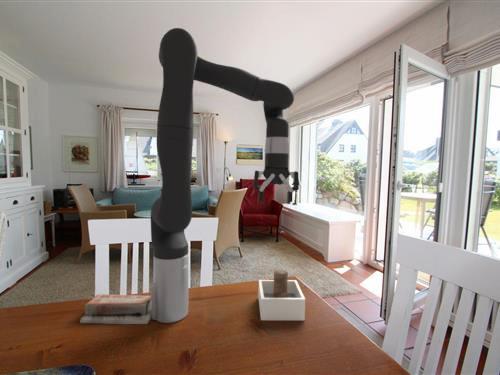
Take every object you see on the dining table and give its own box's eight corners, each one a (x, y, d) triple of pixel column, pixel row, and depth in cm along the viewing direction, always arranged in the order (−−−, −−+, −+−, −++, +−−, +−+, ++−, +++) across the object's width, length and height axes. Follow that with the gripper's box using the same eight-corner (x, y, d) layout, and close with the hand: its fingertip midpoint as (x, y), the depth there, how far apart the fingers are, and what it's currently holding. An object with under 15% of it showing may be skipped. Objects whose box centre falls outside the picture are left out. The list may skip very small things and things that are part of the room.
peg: (273, 312, 75) (274, 275, 74) (272, 304, 79) (273, 269, 78) (287, 312, 75) (288, 275, 74) (285, 304, 79) (286, 269, 78)
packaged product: (78, 307, 68) (99, 289, 78) (78, 325, 68) (100, 305, 78) (147, 308, 68) (160, 290, 78) (148, 325, 68) (160, 305, 78)
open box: (260, 320, 71) (261, 299, 70) (258, 298, 83) (258, 279, 82) (304, 320, 71) (305, 299, 71) (295, 298, 83) (296, 280, 83)
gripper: (254, 151, 78) (253, 204, 80) (301, 152, 79) (299, 205, 80) (253, 152, 86) (252, 201, 87) (296, 153, 86) (295, 202, 88)
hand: (275, 203), depth 84 cm, fingers open, 8 cm apart
